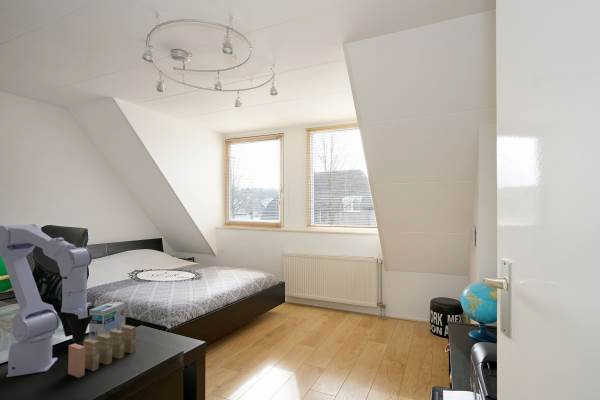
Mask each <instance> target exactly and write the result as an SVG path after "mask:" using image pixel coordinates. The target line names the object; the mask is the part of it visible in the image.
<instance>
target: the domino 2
mask: <svg viewBox="0 0 600 400" xmlns="http://www.w3.org/2000/svg"><path fill="white" fill-rule="evenodd" d="M82 346H85V369H87V370H88V371H89V370H90V371H96V370H98V369H100V368H99V367H100V365H99V364H100V362H99V341H97V340H94V339H90V338H89V337H88V338H86V339H85V338H84V341H83V342H82Z"/></svg>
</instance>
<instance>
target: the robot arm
mask: <svg viewBox="0 0 600 400" xmlns="http://www.w3.org/2000/svg"><path fill="white" fill-rule="evenodd" d="M35 247H38V248H40V249H42V252H43V254H44V255H45V256H46V257H48V258H50V259H52V260H54V261H55V262H56V264H57V266H58V267H57V268H58V269H59V275H60V277H61V278H62V279H61V281H62V285H61V289H62V290H61V295H62V296H61V308H60V311H58V312H57V311H56V310H55V308H54V306H53V304H49V303H47V302H44V301H42V297H41V295H40V292H39V290H38V287H37V284H36V281H35V278H34V275H33V273H32V269H31V268H30V264H29V261H28V259H27V255H28V254H30V253H32V252H33V251H34V249H35ZM0 258H1V259H2V261H3V264H4V267H5V269H6V272H7V275H8V279H9V281H10V284H11V287H12V290H13V293H14V295H15V300H16V302H17V305H18V307H19V311H17V313H16V314H15V315H14V316H13V318H12V319H11V325H12V336H13V337H14V339H15V340H13V342H11V345H10V347H9V350H8V354H7V355H8V356H7V357H8V358H7V359H8V361H7V364H8V365H7V368H8V369H7V374H6V378H9V377H16V376H24V375H29V374H31V375H32V374H36V373H43V372H48V371H49V369H50V368H51V367H52V366H53V365H54V364H55V362H57V360H58V357H53V335H55V334H56V330H58V329H59V327H60V324H61V325H62V328H63V333H64V336H65V338H66V337H71V336H72V337H73V338H72V341H73V344H74V343H75V344H78V343H81V342H82V343H83V341H84V340H85V338H86V334H87V329H88V328H89V323H90V321H91V319H92V317H93V316H92V315H90V314H88V307H91V306H92V302H87V301H88V298H87V297H88V294H87V293H88V289H87V288H88V266H90V265H91V263H92V260H93V253H92V252H91V250H90V249H89V248H88V247H87V246H82V247H77V246H76V245H75V244H73V243H69V242H68V241H66V240H65V238H64V237H54V238H52V237H50V235H48V234H46V233H45V232H43V231H42V227H41V226H39V225H38V224H35V223H31V224H25V225H24V224H20V225H15V224H14V225H0Z"/></svg>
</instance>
